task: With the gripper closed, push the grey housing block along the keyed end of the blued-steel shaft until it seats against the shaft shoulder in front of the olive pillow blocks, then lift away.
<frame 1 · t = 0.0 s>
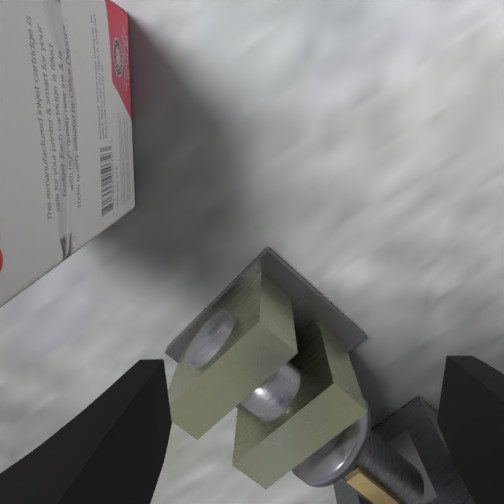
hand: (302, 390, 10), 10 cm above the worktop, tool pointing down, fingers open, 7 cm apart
shaft rig: (321, 387, 22), on the worktop
ink box: (84, 113, 18), on the worktop
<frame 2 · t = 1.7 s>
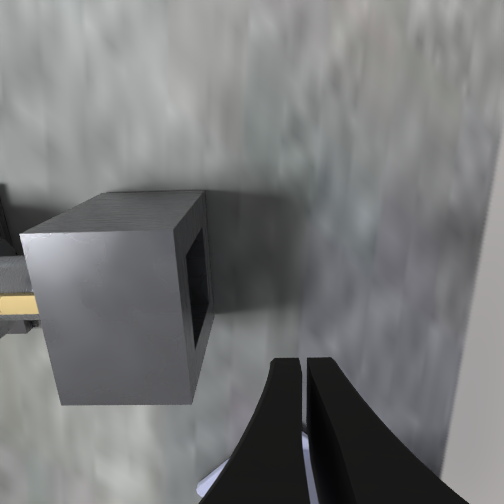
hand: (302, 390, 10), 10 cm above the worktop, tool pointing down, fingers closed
shaft rig: (34, 259, 21), on the worktop
grey housing block: (141, 285, 17), point 3 cm above the worktop, slide at 0.0 cm
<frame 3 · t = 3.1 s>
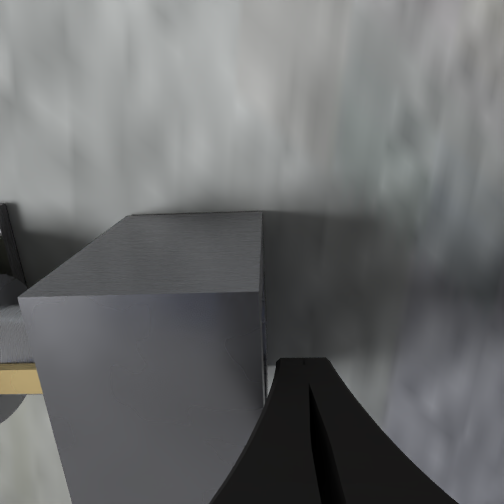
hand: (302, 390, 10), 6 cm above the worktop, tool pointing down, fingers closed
shaft rig: (53, 299, 16), on the worktop
grey housing block: (185, 345, 12), point 4 cm above the worktop, slide at 0.7 cm, touching gripper
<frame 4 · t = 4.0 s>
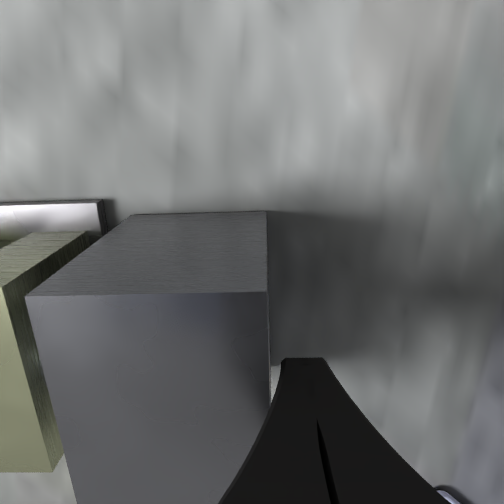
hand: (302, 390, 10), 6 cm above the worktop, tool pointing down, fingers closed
shaft rig: (143, 297, 16), on the worktop
grey housing block: (189, 345, 12), point 4 cm above the worktop, slide at 4.2 cm, touching gripper, shaft rig
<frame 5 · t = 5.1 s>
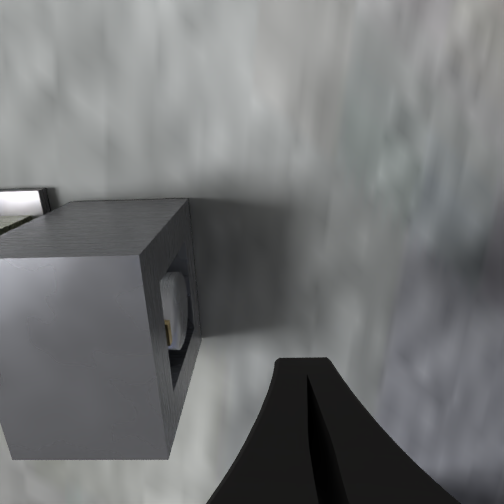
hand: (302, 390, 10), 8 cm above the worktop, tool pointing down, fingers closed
shaft rig: (86, 275, 18), on the worktop
grey housing block: (112, 311, 14), point 3 cm above the worktop, slide at 4.2 cm, touching shaft rig
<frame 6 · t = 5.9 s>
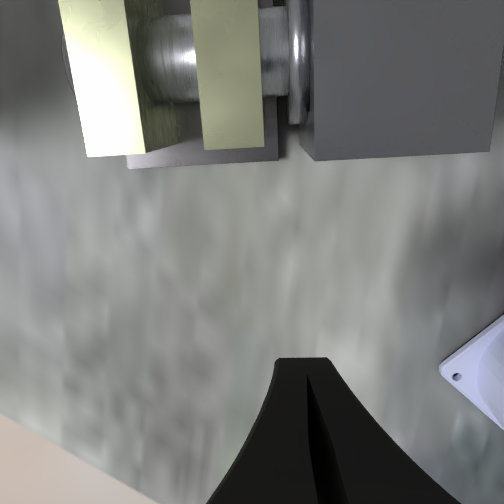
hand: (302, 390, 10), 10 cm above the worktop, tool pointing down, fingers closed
shaft rig: (298, 63, 17), on the worktop
grey housing block: (376, 46, 14), point 3 cm above the worktop, slide at 4.2 cm, touching shaft rig
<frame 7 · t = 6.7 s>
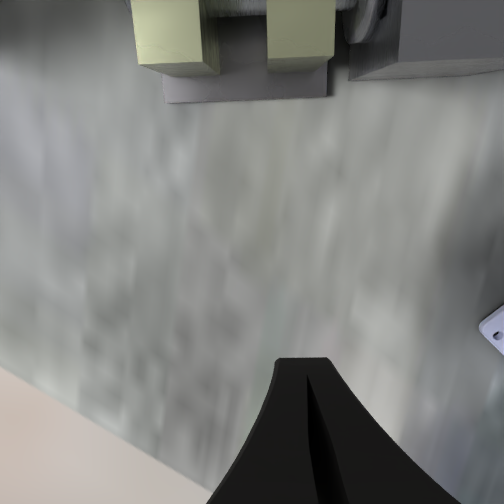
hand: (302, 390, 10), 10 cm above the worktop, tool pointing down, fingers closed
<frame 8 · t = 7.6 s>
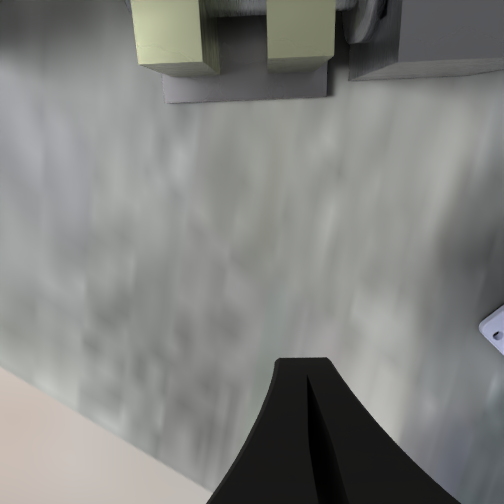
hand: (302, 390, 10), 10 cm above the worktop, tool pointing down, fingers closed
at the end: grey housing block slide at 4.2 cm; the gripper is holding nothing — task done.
